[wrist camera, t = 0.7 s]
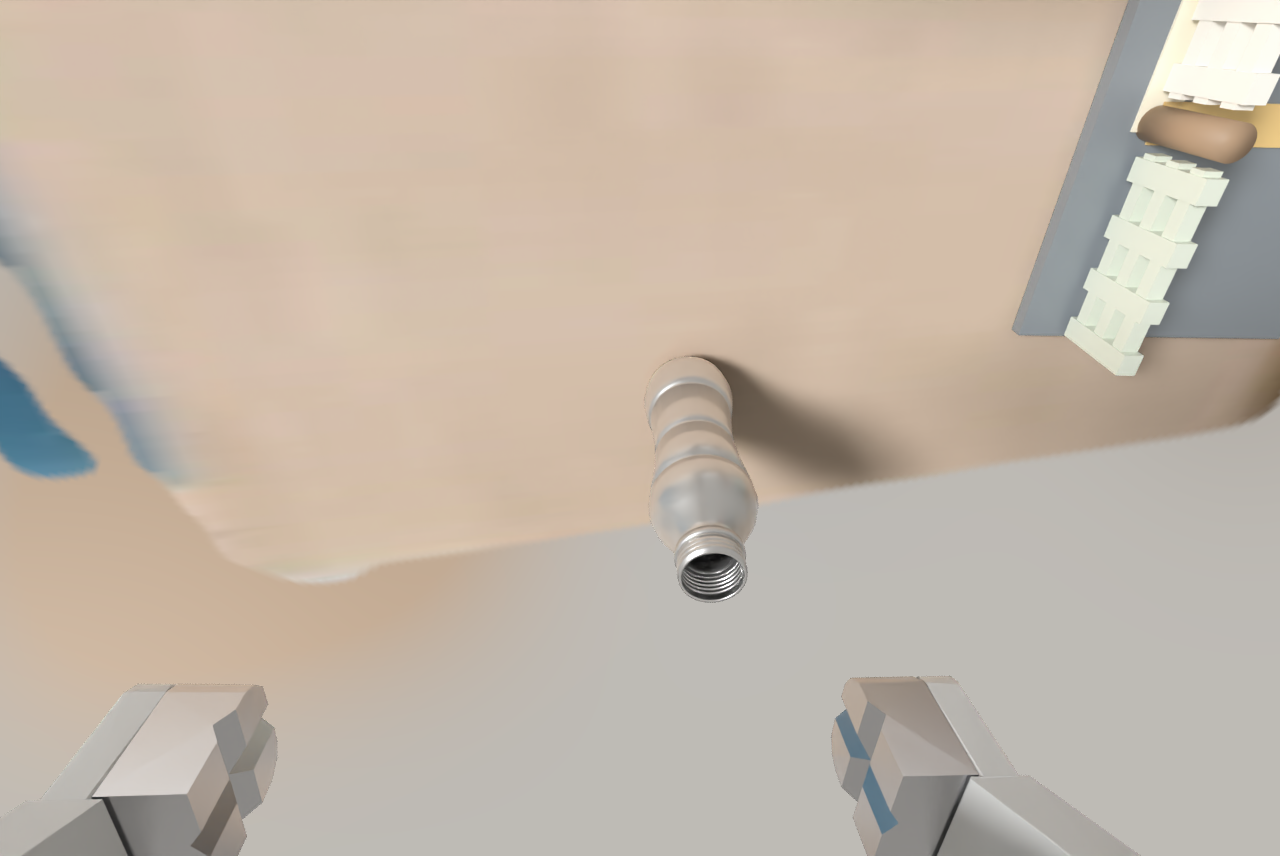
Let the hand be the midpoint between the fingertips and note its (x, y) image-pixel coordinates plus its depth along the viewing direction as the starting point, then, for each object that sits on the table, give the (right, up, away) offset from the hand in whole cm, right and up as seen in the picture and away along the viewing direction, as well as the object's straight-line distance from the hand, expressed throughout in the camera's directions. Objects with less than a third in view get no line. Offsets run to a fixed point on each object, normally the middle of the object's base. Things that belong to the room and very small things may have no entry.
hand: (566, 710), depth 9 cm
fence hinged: (+32, +16, +34) cm, 49 cm away
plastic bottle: (+5, +7, +41) cm, 42 cm away
